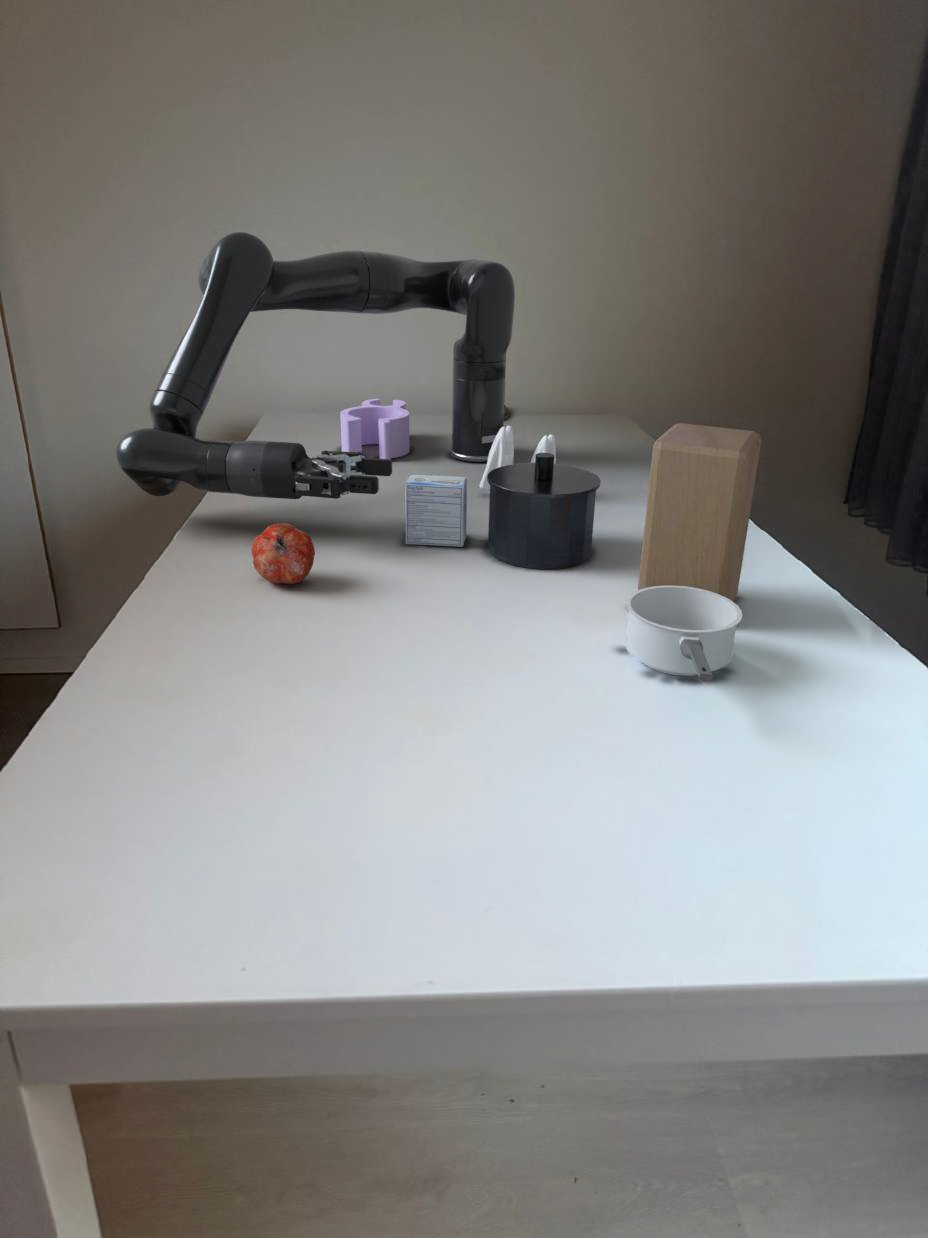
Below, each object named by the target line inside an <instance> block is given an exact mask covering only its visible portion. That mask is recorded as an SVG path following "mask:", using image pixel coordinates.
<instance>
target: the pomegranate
mask: <svg viewBox="0 0 928 1238" xmlns="http://www.w3.org/2000/svg"><path fill="white" fill-rule="evenodd" d="M313 543H314V542H313V539H312V537H311V536H310V535H309V534H308V533H306V532H305V531H302V530H300V529H298V528H297V527H295V526H294V525H292V524H290V523H288V522H277V523H274V524H271V525H268V526H267V527H266V528H265V529H264V530H263V532H261V534H260V535H257V536H256V538H255V539H254V541H253V544H252V547H251V556H252V559H253V560H252V563H253V566H254V570H256V572H257V573H258V574H259V575H260V577H262V578H263V579H264V580H266V581H268V582H269V583H271V584H288V585H295V584H298V583H300V582H302V581H304V579H306V578H307V577H308V576H309V574H310V572H311V570H312V568H313V565H314V562H315V561H314V560H315V556H316V551H315V547H314V544H313Z"/></svg>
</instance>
